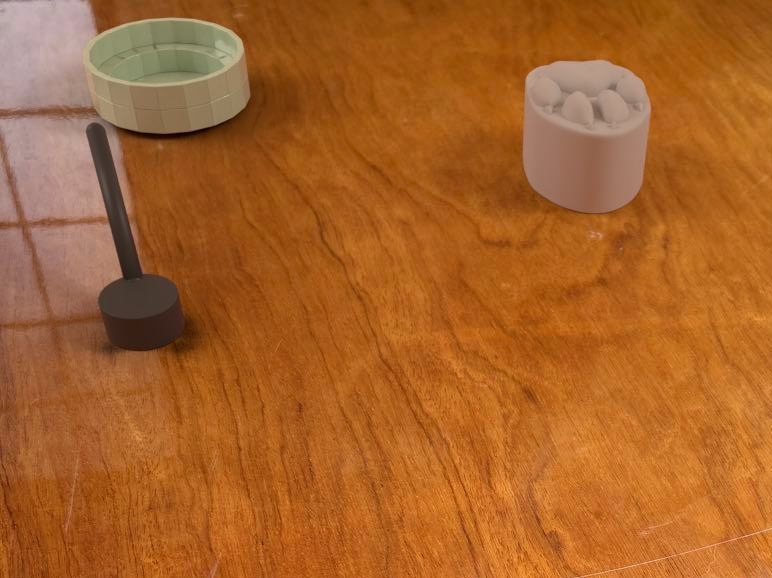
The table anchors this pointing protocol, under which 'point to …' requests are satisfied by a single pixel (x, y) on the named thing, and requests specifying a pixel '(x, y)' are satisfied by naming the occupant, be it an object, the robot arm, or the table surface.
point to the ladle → (131, 271)
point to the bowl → (167, 75)
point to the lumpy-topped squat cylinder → (585, 134)
